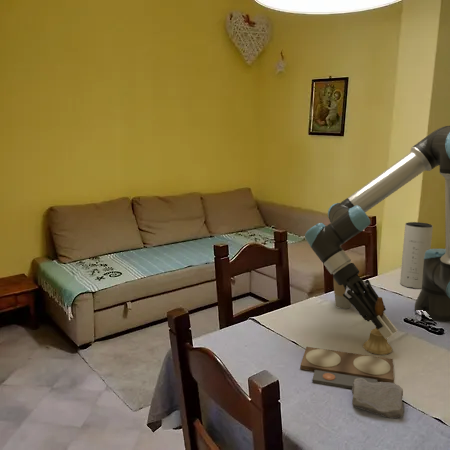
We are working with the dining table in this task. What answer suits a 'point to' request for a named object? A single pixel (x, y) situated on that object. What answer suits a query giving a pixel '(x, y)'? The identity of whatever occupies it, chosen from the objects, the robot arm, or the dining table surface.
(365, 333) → the dining table surface
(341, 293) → the coffee cup
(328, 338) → the dining table surface
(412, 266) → the white tall cylinder
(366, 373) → the board
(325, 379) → the pattern card
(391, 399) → the stone block
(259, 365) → the dining table surface
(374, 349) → the hand bell
